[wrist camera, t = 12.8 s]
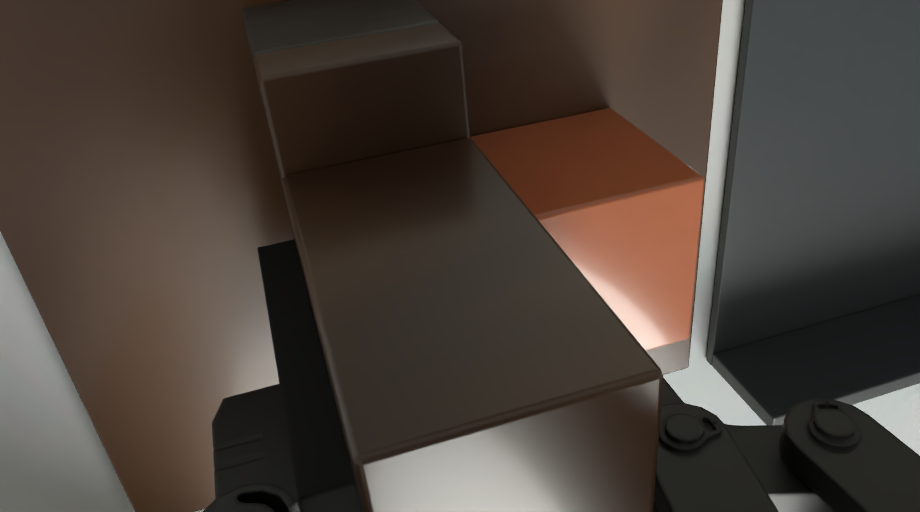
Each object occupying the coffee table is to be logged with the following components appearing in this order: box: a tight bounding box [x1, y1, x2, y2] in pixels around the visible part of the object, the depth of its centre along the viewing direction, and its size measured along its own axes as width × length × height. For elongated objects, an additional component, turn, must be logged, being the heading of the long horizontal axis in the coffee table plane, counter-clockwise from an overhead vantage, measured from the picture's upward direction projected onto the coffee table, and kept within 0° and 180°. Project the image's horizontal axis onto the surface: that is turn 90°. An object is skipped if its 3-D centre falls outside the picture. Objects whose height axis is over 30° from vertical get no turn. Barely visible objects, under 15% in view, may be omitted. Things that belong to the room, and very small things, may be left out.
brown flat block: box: [241, 0, 663, 512], centre depth 13 cm, size 3×11×10 cm, turn 5°
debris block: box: [470, 108, 704, 351], centre depth 17 cm, size 4×4×4 cm
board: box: [0, 0, 723, 512], centre depth 18 cm, size 16×14×1 cm
